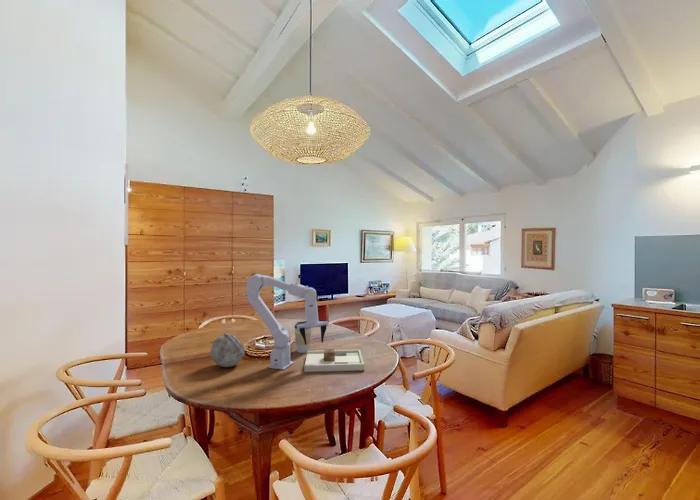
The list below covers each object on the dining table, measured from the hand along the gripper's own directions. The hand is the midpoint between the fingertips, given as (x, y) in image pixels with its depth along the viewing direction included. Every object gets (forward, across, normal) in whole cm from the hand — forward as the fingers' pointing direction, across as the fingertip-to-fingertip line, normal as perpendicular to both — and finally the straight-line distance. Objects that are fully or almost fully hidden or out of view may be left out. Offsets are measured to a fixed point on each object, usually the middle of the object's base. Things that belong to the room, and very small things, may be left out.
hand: (314, 343), depth 149 cm
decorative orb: (+7, -40, +4) cm, 40 cm away
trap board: (+10, +8, -2) cm, 13 cm away
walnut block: (+8, +6, -2) cm, 10 cm away
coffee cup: (+9, -5, +19) cm, 22 cm away
